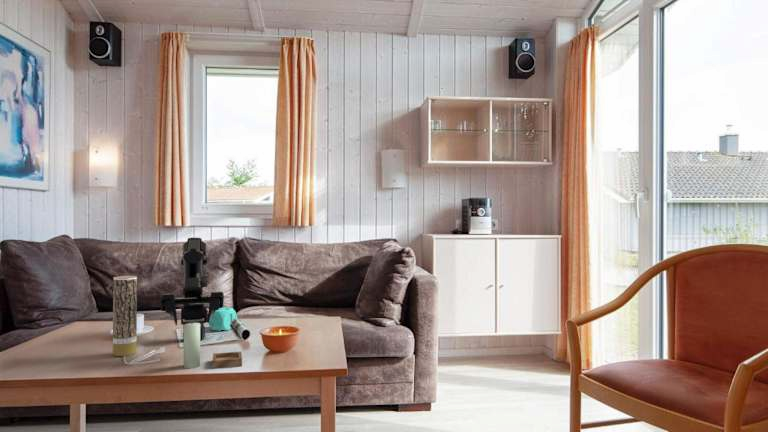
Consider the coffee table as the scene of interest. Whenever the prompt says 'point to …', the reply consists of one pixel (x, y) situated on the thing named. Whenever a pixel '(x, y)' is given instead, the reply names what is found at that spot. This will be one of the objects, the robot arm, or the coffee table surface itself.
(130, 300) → the wooden log cylinder
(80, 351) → the coffee table surface
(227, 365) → the holder
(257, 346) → the coffee table surface
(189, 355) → the candle
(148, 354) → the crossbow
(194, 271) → the robot arm
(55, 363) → the coffee table surface
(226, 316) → the decorative dice
